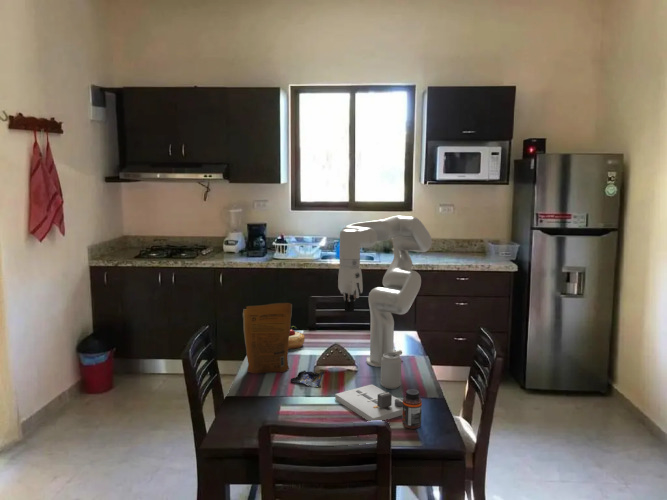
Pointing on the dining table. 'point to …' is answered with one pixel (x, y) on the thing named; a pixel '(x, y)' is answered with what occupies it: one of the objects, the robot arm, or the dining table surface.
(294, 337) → the pastry
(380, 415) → the console board
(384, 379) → the can
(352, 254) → the robot arm
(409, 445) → the dining table surface
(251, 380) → the dining table surface
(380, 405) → the fader knob
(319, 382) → the snack package
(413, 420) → the supplement bottle
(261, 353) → the pancake mix bag
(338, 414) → the dining table surface
